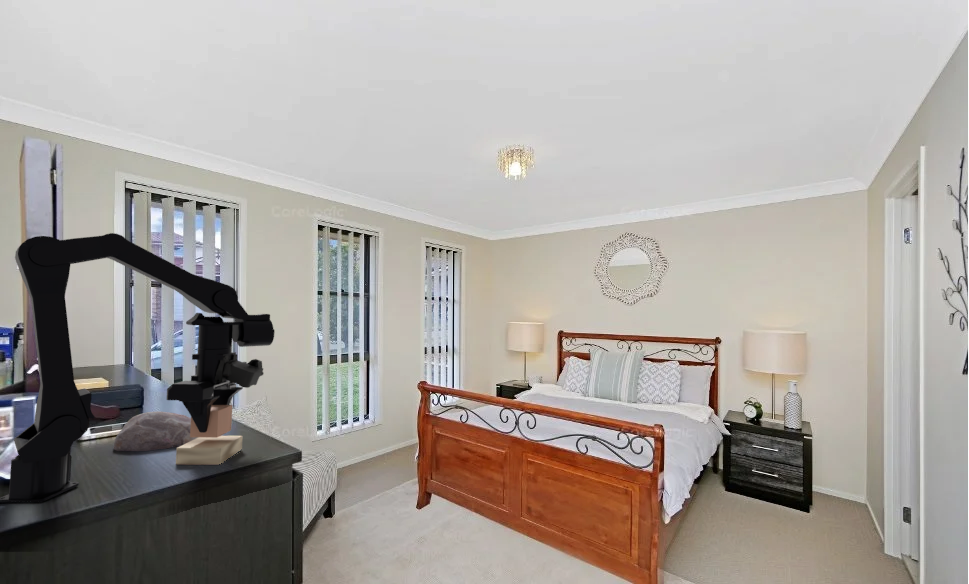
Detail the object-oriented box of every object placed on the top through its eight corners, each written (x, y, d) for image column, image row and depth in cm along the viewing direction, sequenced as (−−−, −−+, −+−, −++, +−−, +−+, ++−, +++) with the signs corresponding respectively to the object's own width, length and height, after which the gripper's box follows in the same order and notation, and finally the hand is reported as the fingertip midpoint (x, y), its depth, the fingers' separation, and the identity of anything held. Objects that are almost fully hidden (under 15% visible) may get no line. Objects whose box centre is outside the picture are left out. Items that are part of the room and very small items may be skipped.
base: (220, 464, 81) (220, 448, 81) (175, 464, 81) (176, 448, 81) (241, 450, 89) (242, 435, 89) (201, 450, 89) (202, 435, 89)
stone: (210, 463, 97) (216, 423, 104) (207, 440, 91) (213, 399, 98) (114, 474, 90) (127, 431, 97) (104, 450, 84) (118, 405, 91)
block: (190, 437, 82) (191, 410, 83) (205, 430, 87) (206, 404, 88) (217, 437, 83) (218, 410, 83) (231, 430, 88) (232, 405, 88)
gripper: (232, 353, 77) (228, 443, 76) (277, 345, 95) (274, 417, 95) (166, 352, 76) (162, 443, 76) (224, 344, 95) (221, 416, 94)
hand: (211, 428), depth 85 cm, fingers closed on block, 5 cm apart
